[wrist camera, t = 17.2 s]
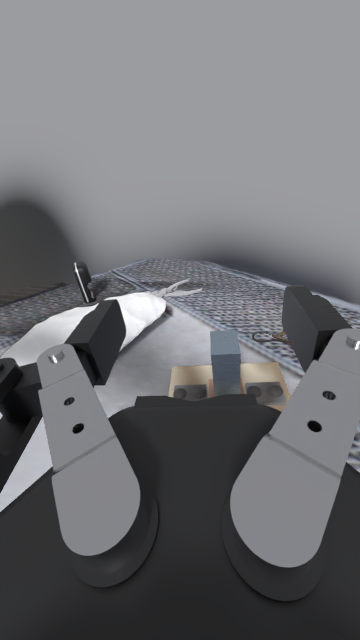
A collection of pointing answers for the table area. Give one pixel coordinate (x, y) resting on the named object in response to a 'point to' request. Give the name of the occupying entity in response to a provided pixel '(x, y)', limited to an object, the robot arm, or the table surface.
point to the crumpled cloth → (58, 328)
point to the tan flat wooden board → (254, 380)
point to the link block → (225, 362)
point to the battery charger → (83, 281)
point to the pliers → (166, 290)
